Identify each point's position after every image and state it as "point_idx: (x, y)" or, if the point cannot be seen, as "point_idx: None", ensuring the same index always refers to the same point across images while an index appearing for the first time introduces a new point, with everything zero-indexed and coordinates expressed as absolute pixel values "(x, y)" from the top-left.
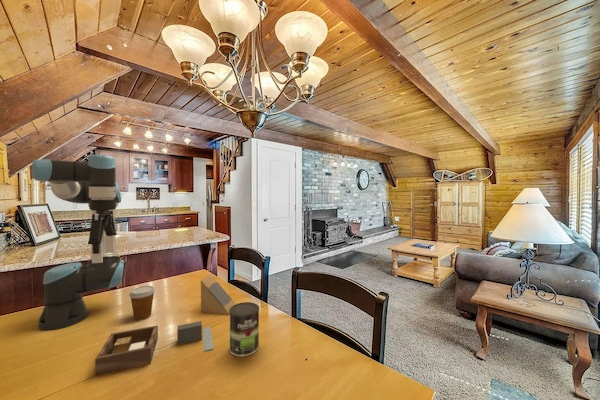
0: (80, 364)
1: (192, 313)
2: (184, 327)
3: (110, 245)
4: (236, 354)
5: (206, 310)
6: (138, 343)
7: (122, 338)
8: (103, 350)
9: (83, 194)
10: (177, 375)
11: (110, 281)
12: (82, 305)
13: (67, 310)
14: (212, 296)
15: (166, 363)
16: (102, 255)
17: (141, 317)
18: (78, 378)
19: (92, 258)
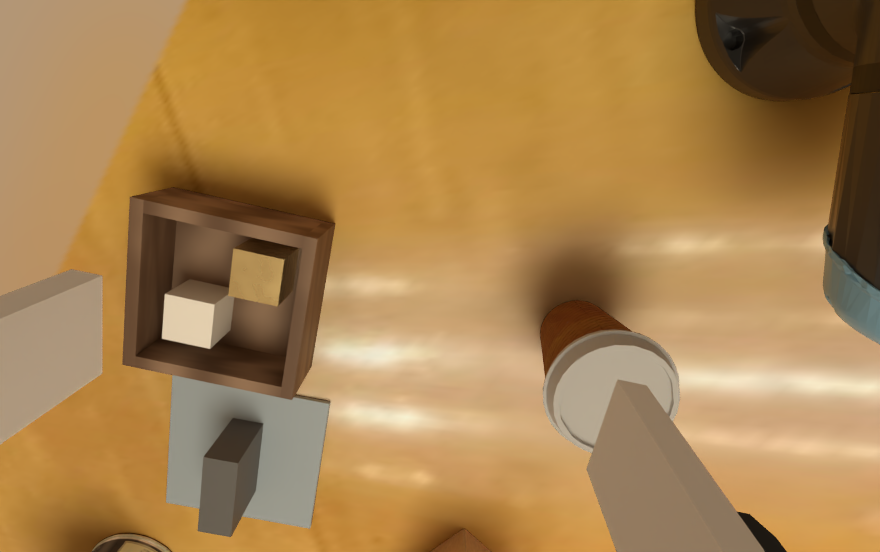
0: (293, 130)
1: (468, 499)
2: (209, 480)
3: (636, 520)
4: (98, 545)
5: (443, 549)
6: (204, 326)
7: (277, 275)
8: (182, 219)
9: None
10: (84, 394)
11: (832, 248)
12: (802, 74)
13: (760, 4)
14: None
15: (159, 375)
16: (29, 422)
17: (542, 330)
18: (204, 136)
19: (15, 299)
